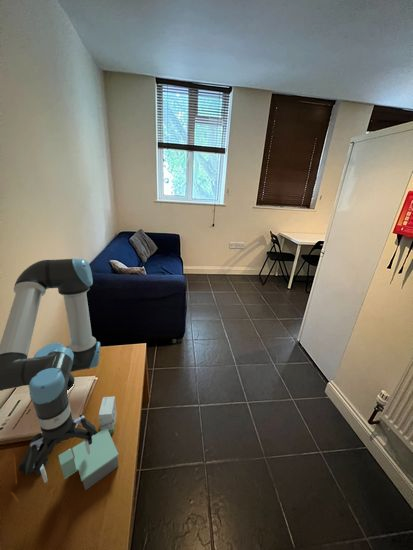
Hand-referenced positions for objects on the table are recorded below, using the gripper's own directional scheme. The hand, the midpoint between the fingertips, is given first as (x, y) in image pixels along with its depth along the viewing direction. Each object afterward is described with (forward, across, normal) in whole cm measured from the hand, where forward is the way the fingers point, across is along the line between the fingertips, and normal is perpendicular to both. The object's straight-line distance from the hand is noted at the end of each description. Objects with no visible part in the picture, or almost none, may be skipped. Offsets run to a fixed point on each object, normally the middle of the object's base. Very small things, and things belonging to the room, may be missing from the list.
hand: (67, 463), depth 72 cm
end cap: (+11, -7, +15) cm, 20 cm away
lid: (+4, +6, 0) cm, 7 cm away
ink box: (+10, +16, +12) cm, 23 cm away
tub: (+10, +8, 0) cm, 13 cm away
